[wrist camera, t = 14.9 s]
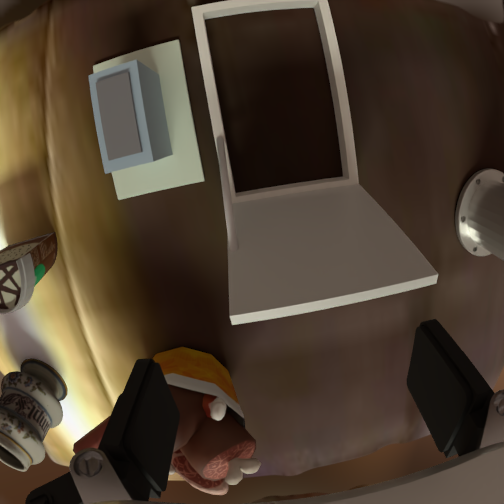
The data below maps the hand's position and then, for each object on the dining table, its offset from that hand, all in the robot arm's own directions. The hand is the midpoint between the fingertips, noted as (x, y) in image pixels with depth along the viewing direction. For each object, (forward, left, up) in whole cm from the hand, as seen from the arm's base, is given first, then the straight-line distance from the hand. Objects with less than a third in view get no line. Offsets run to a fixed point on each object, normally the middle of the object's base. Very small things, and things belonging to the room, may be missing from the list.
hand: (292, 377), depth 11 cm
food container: (+30, +1, -27) cm, 40 cm away
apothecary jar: (+41, +22, -27) cm, 54 cm away
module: (+10, -12, -26) cm, 30 cm away
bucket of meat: (+14, +22, -27) cm, 37 cm away
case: (-4, -10, -26) cm, 28 cm away
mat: (+10, -12, -26) cm, 30 cm away
